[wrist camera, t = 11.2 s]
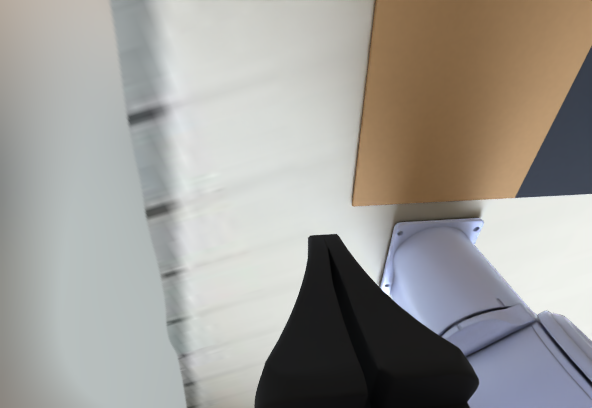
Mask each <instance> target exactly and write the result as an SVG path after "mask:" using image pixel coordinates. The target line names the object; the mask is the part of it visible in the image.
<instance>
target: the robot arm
mask: <svg viewBox="0 0 592 408" xmlns="http://www.w3.org/2000/svg"><path fill="white" fill-rule="evenodd" d="M483 224H484V222H483V220H482V219H480V218H468V219H450V220H432V221H414V222H400V223H397V224H396V225H395V227H394V231H393V235H392V239H391V244H390V248H389V252H388V256H387V261H386V265H385V269H384V274H383V278H382V282H381V287H379V286H378V285H377V284H376V283H375V282H374V281H373V280H372V279H371V278H370V277H369V275H368V274H367V273H366V272H365V271H364V270H363V269H362V267H361V266H360V265H359V264H358V262H357V261H356V260H355V259H354V257H353V256H352V255H351V253H350V252H349V251H348V249H347V248H346V246H345V245H344V243H343V242H342V240H341V239H340V237H339V236H338V235H337V234H330V235H313V236H310V237H308V261H307V266H306V271H305V275H304V278H303V282H302V286H301V289H300V292H299V295H298V297H297V300H296V303H295V305H294V308H293V310H292V313H291V315H290V317H289V320H288V322H287V324H286V326H285V328H284V330H283V332H282V334H281V336H280V338H279V340H278V342H277V343H276V345H275V347H274V349H273V350H272V352H271V354H270V355H269V357H268V359H267V361H266V363H265V366H264V369H263V372H262V375H261V378H260V381H259V384H258V387H257V391H256V396H255V408H592V341H591V340H590V339H589V338H588V337H587V336H586V335H585V334H584V333H583V332H582V331H580V330H579V329H578V328H577V327H576V326H575V325H574V324H573V323H572V322H571V321H570V320H568V319H567V318H566V317H565V316H563V315H559V314H555V313H553V314H552V313H551V312H549V311H543V312H541V313H539V314H538V315H537V314H535V313H534V312H533V311H532V310H531V309H530V308H529V307H528V306H527V305H526V303H525V302H524V301H523V300H522V299H521V298H520V297H519V295H518V294H517V293H516V292H515V291H514V290H513V289H512V287H511V286H510V285H509V284H508V283H507V282H506V281H505V279H504V278H503V277H502V276H501V275H500V274H499V273H498V271H497V270H496V269H495V268H494V267H493V266H492V265H491V263H490V262H489V261H488V260H487V259H486V258H485V257H484V255H483V254H482V253H481V252H480V251H479V250H478V248H477V247H476V246H475V245H474V244H475V241H476V239H477V237H478V235H479V233H480V231H481V228H482V226H483ZM475 227H476V228H475ZM400 231H401V232H400ZM398 232H400V233H398ZM387 294H390V295H391V297H392V299H391V298H390V297H389V296H388V295H387Z"/></svg>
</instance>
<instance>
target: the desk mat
mask: <svg viewBox="0 0 592 408" xmlns="http://www.w3.org/2000/svg"><path fill="white" fill-rule="evenodd" d="M578 194H592V0H376V2H375V11H374V20H373V28H372V37H371V45H370V54H369V63H368V71H367V80H366V89H365V97H364V106H363V114H362V123H361V132H360V140H359V149H358V157H357V166H356V175H355V183H354V192H353V200H352V206H369V205H388V204H407V203H426V202H445V201H464V200H483V199H502V198H521V197H540V196H559V195H578Z"/></svg>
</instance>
